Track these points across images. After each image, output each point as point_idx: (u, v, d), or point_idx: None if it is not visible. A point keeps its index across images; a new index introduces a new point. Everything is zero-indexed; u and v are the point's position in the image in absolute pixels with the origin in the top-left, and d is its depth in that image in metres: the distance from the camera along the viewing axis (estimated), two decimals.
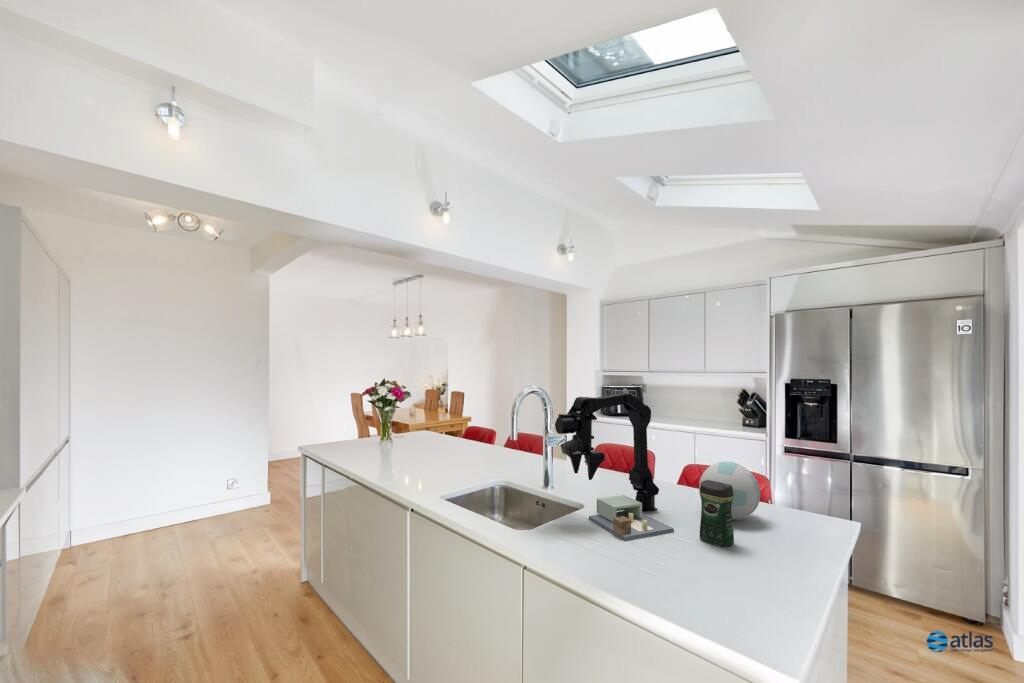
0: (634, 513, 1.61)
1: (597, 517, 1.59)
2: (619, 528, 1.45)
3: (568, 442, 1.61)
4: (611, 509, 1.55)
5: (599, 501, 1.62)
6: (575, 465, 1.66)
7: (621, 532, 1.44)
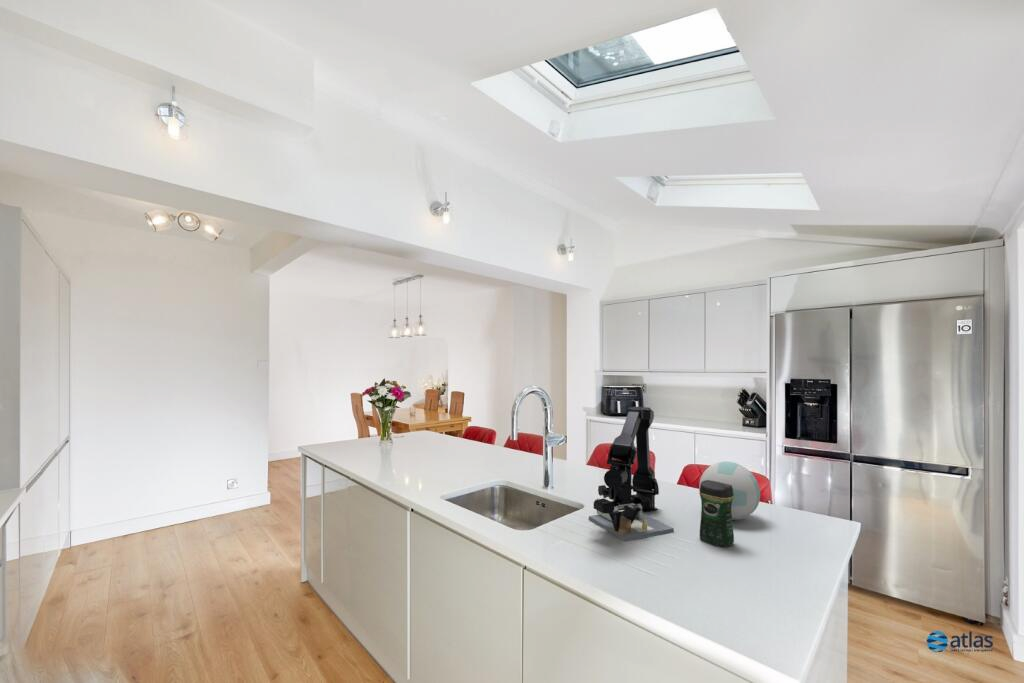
0: None
1: (597, 517, 1.59)
2: (619, 528, 1.45)
3: None
4: None
5: None
6: None
7: (621, 532, 1.44)
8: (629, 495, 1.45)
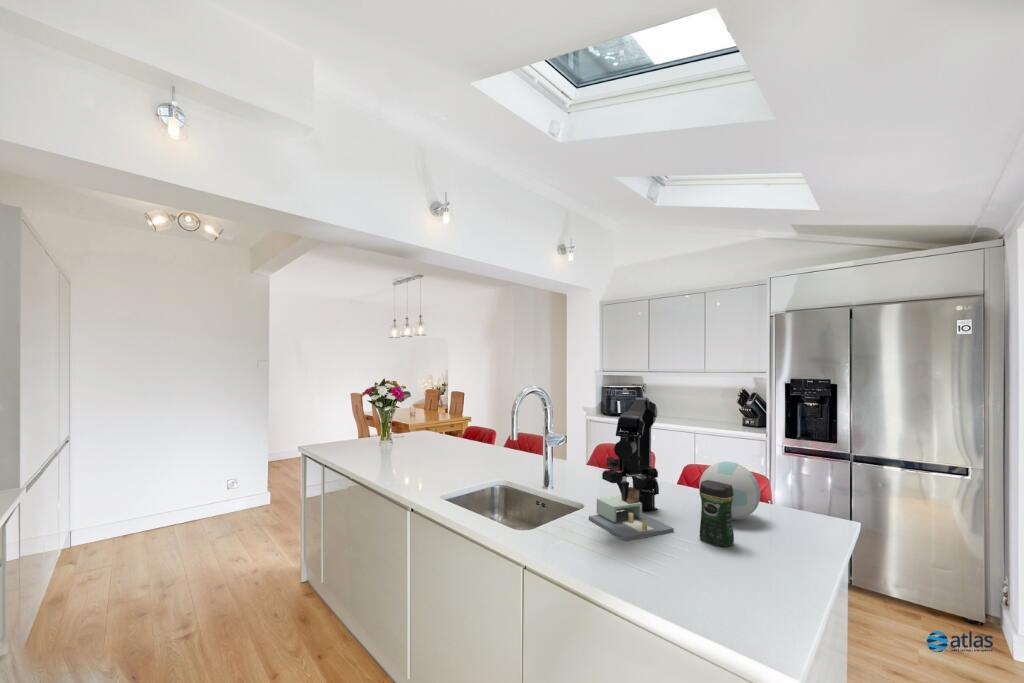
0: (634, 513, 1.61)
1: (597, 517, 1.59)
2: (627, 497, 1.48)
3: None
4: (611, 509, 1.55)
5: (599, 501, 1.62)
6: None
7: (629, 502, 1.47)
8: (637, 466, 1.48)
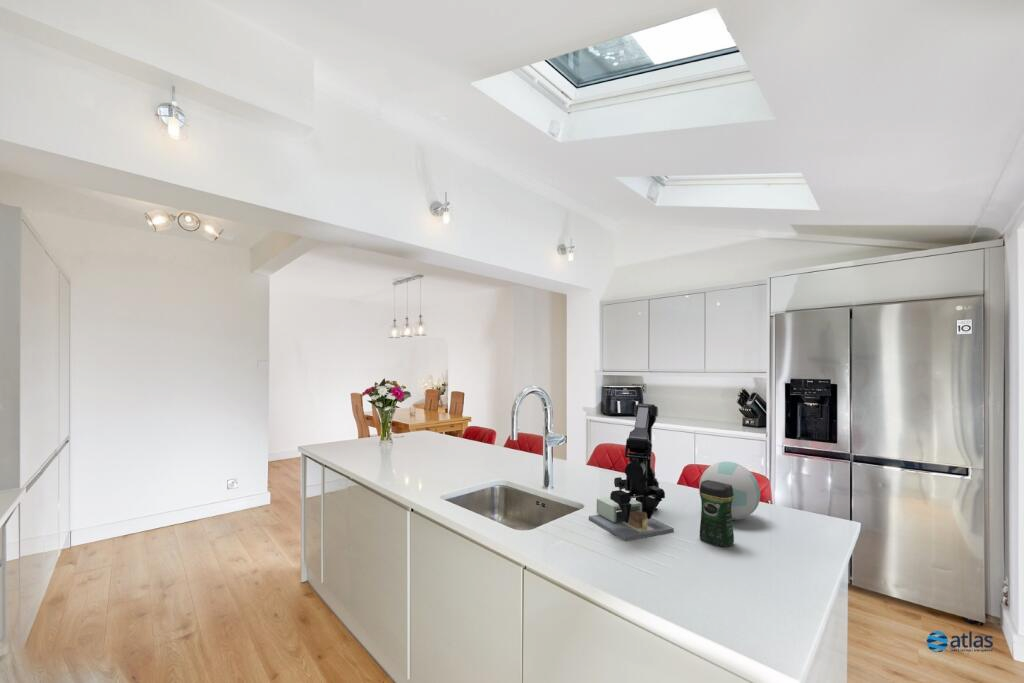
0: None
1: (597, 517, 1.59)
2: (635, 522, 1.50)
3: None
4: (611, 509, 1.55)
5: (599, 501, 1.62)
6: (647, 509, 1.54)
7: (637, 526, 1.49)
8: (645, 486, 1.50)
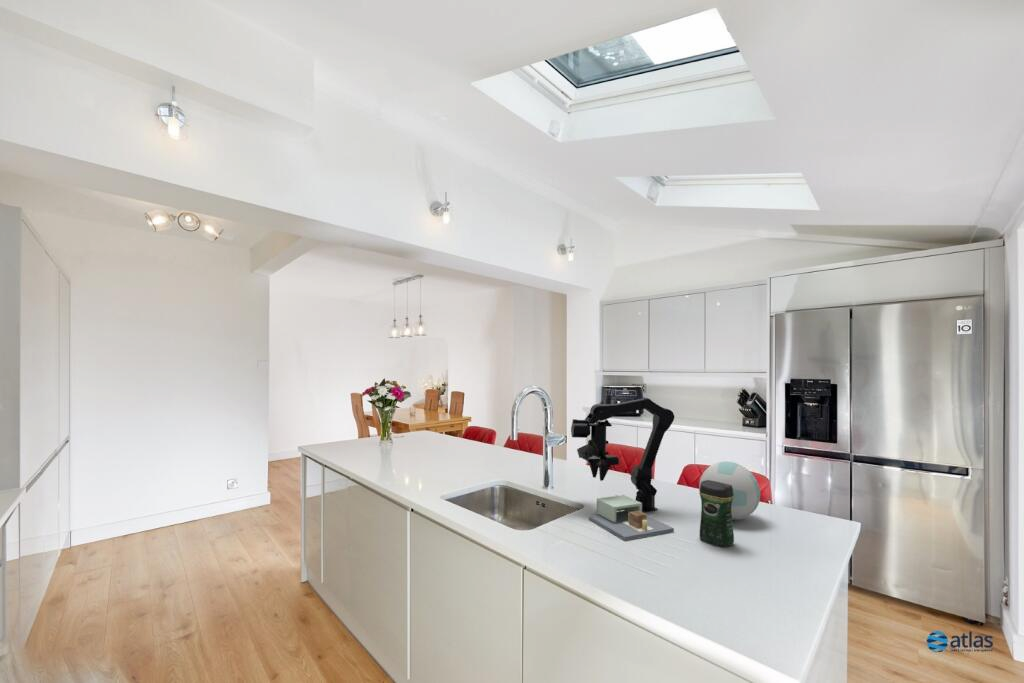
0: None
1: (597, 517, 1.59)
2: (635, 522, 1.50)
3: (584, 447, 1.72)
4: (611, 509, 1.55)
5: (599, 501, 1.62)
6: (593, 469, 1.75)
7: (637, 526, 1.49)
8: None
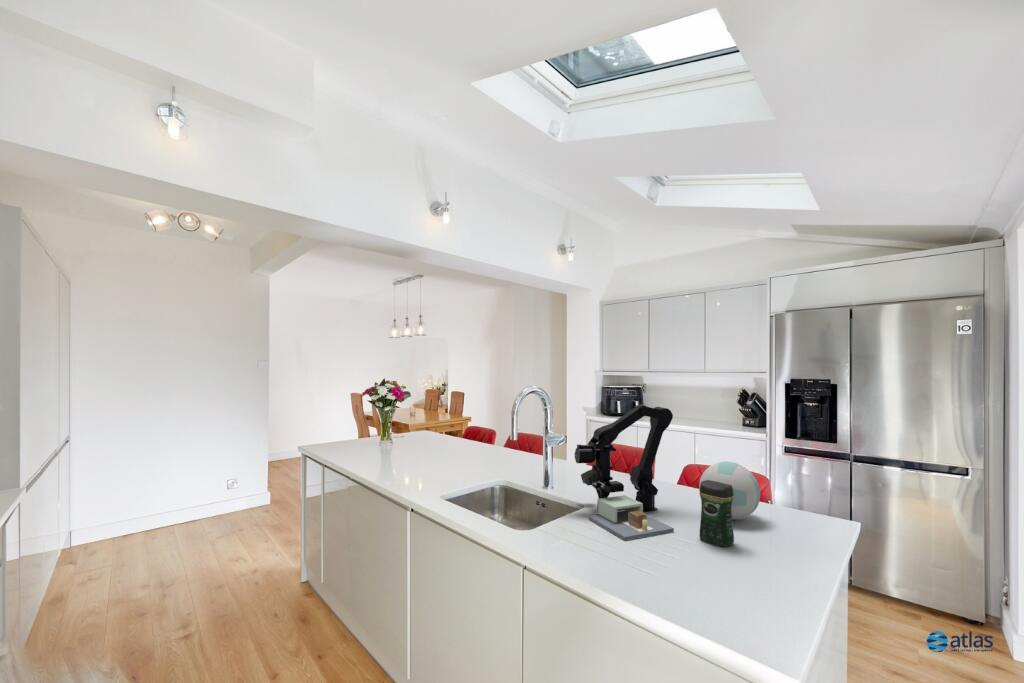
0: None
1: (597, 517, 1.59)
2: (635, 522, 1.50)
3: (588, 472, 1.69)
4: (612, 510, 1.55)
5: (600, 501, 1.61)
6: None
7: (637, 526, 1.49)
8: None
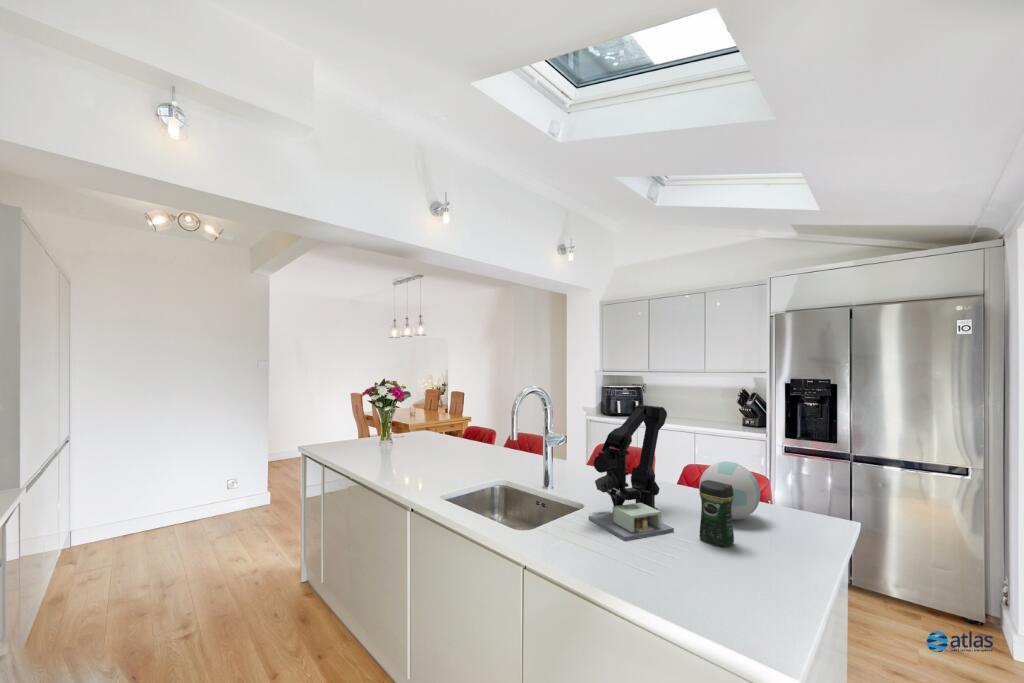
0: (652, 522, 1.52)
1: (597, 517, 1.59)
2: (635, 522, 1.50)
3: (602, 478, 1.61)
4: (628, 519, 1.47)
5: (615, 509, 1.53)
6: None
7: (637, 526, 1.49)
8: None
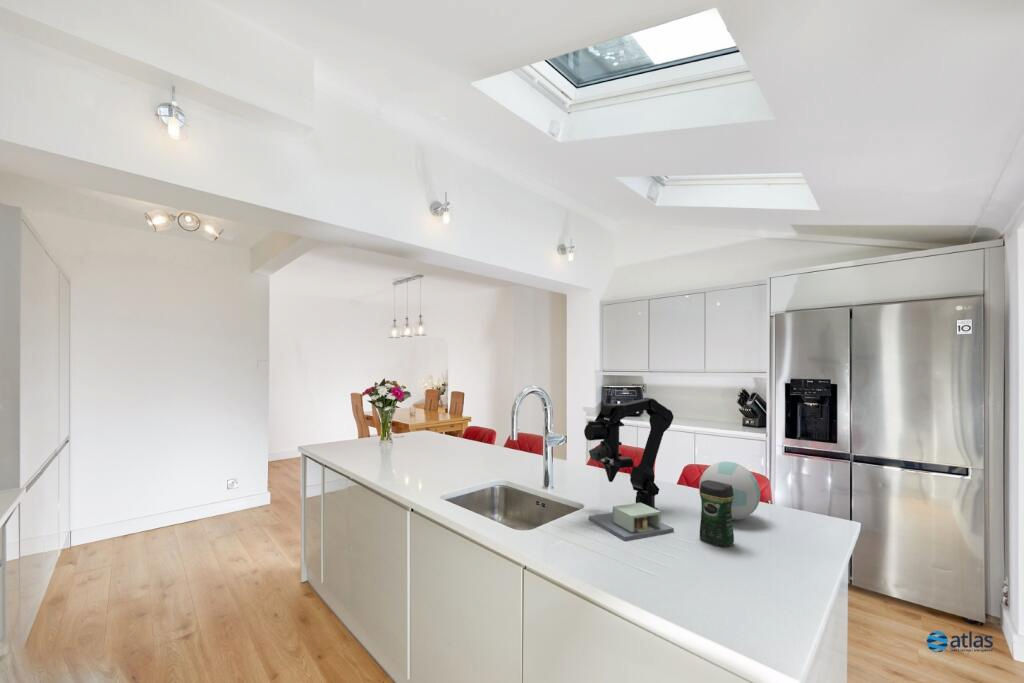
0: (652, 522, 1.52)
1: (597, 517, 1.59)
2: (635, 522, 1.50)
3: (596, 448, 1.65)
4: (628, 519, 1.47)
5: (615, 509, 1.53)
6: None
7: (637, 526, 1.49)
8: None
